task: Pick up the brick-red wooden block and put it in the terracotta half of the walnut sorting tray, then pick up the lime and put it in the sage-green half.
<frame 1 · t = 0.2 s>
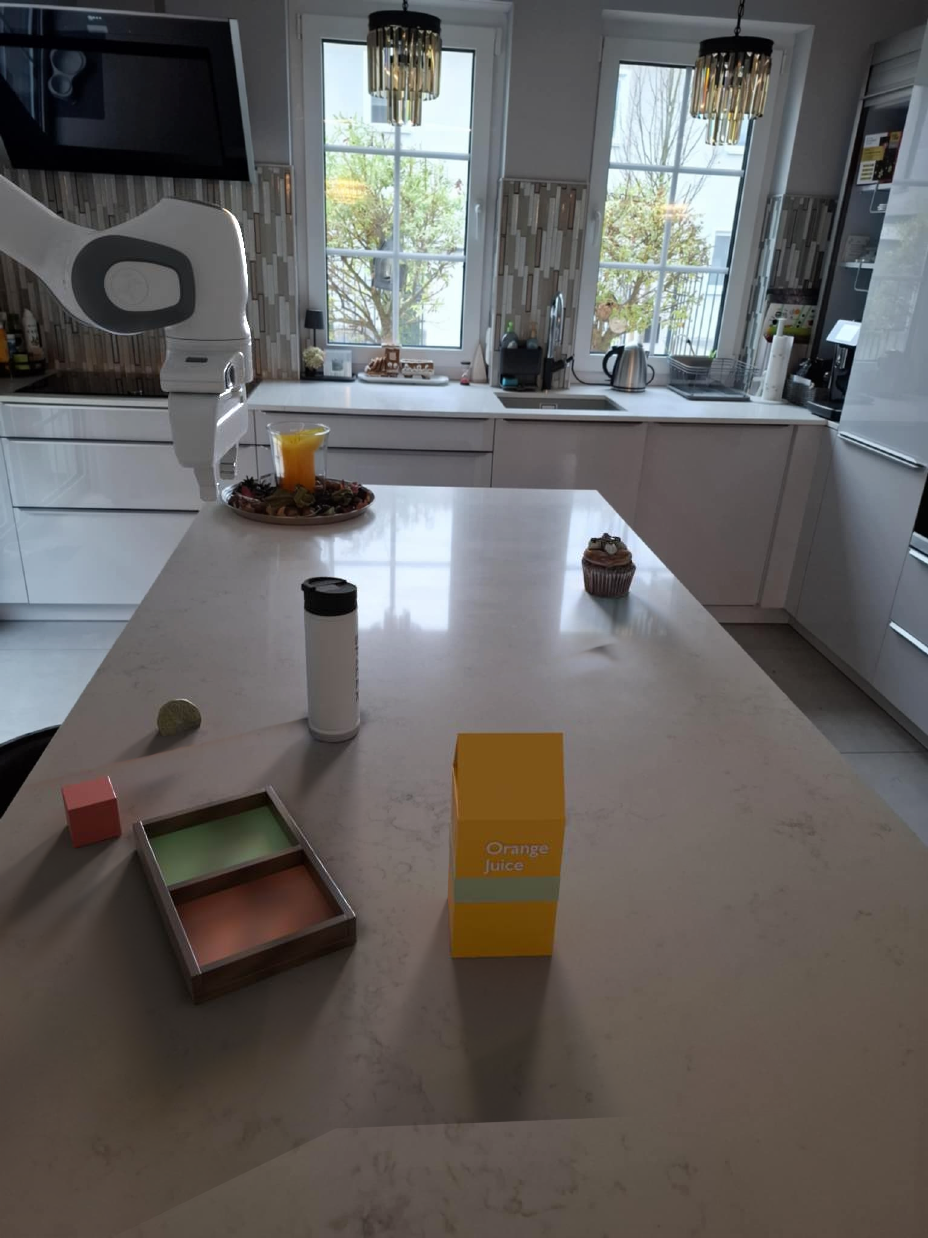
hand: (219, 488, 100), 29 cm above the kitchen island, tool pointing down, fingers open, 8 cm apart
cupcake: (606, 590, 156), on the kitchen island
red block: (94, 829, 89), on the kitchen island
travel mug: (333, 731, 108), on the kitchen island
orange juice: (497, 927, 78), on the kitchen island
sorting tray: (239, 892, 81), on the kitchen island
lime: (179, 738, 105), on the kitchen island
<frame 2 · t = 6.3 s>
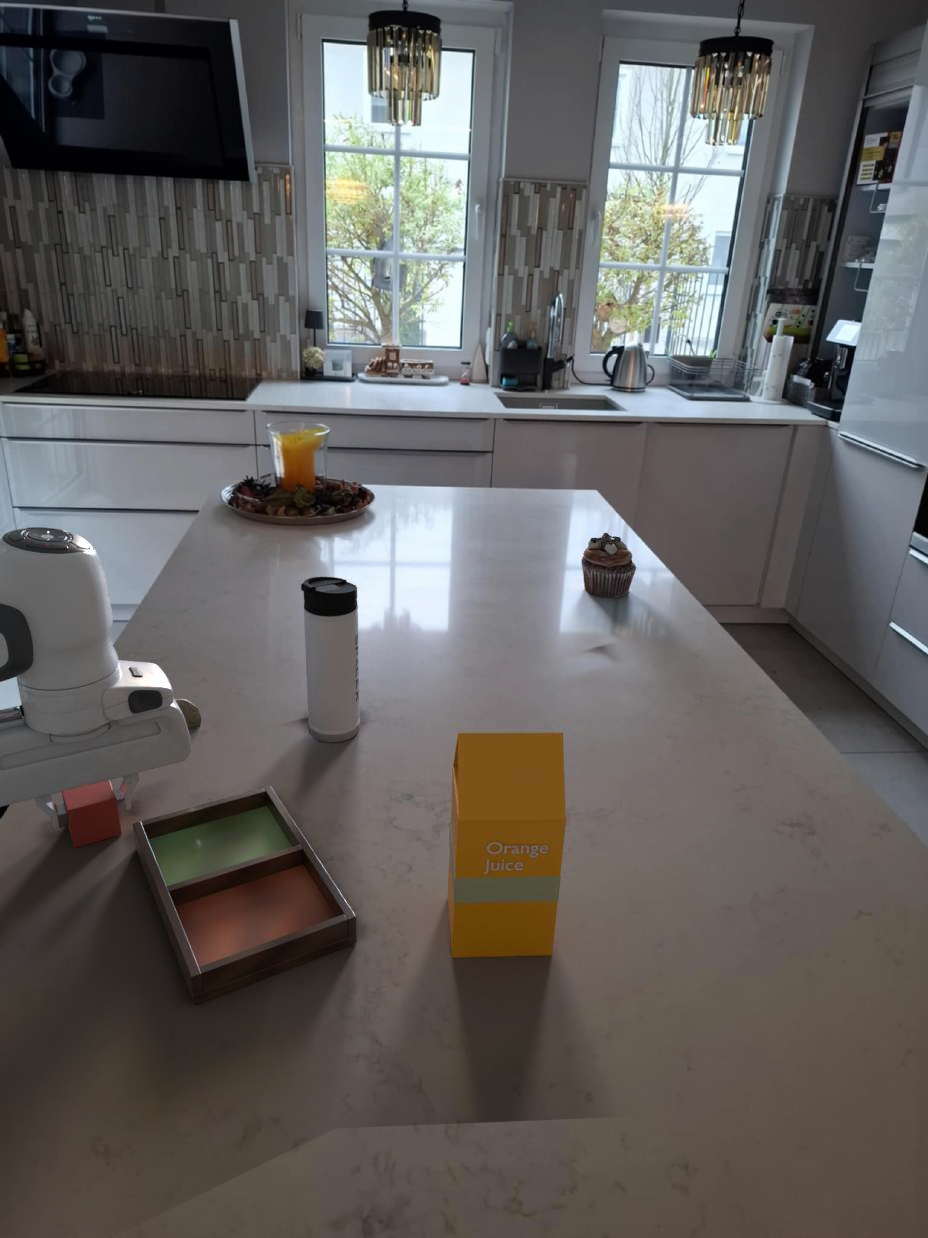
hand: (92, 816, 88), 2 cm above the kitchen island, tool pointing down, fingers closed on red block, 4 cm apart
red block: (94, 829, 89), on the kitchen island, touching gripper
everything else where it was.
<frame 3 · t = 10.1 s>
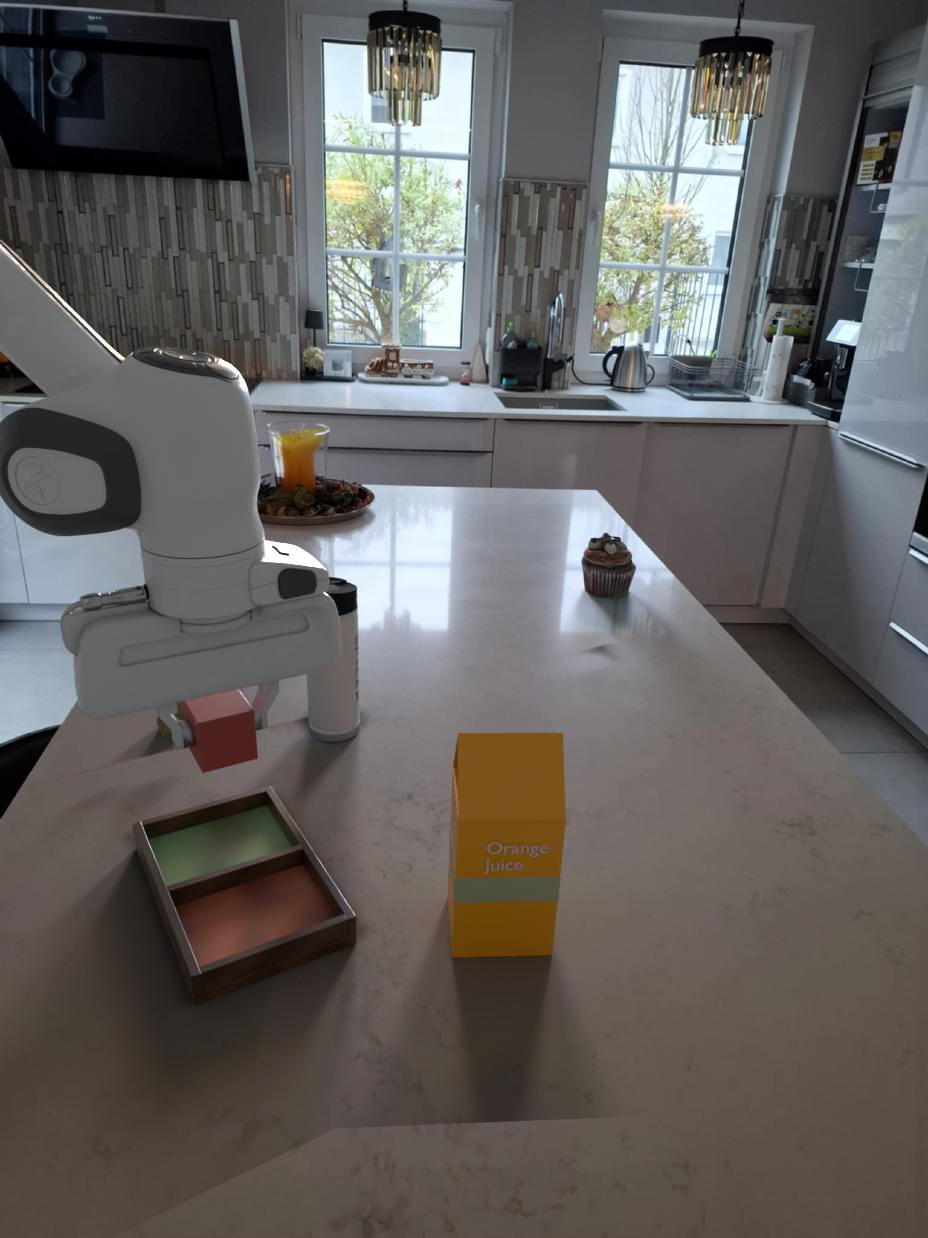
hand: (221, 735, 70), 19 cm above the kitchen island, tool pointing down, fingers closed on red block, 4 cm apart
red block: (222, 752, 71), point 17 cm above the kitchen island, touching gripper
everything else where it was.
when the fingers open (3 cm above the kitchen island, at t = 14.2 s): red block stays where it is, resting on sorting tray.
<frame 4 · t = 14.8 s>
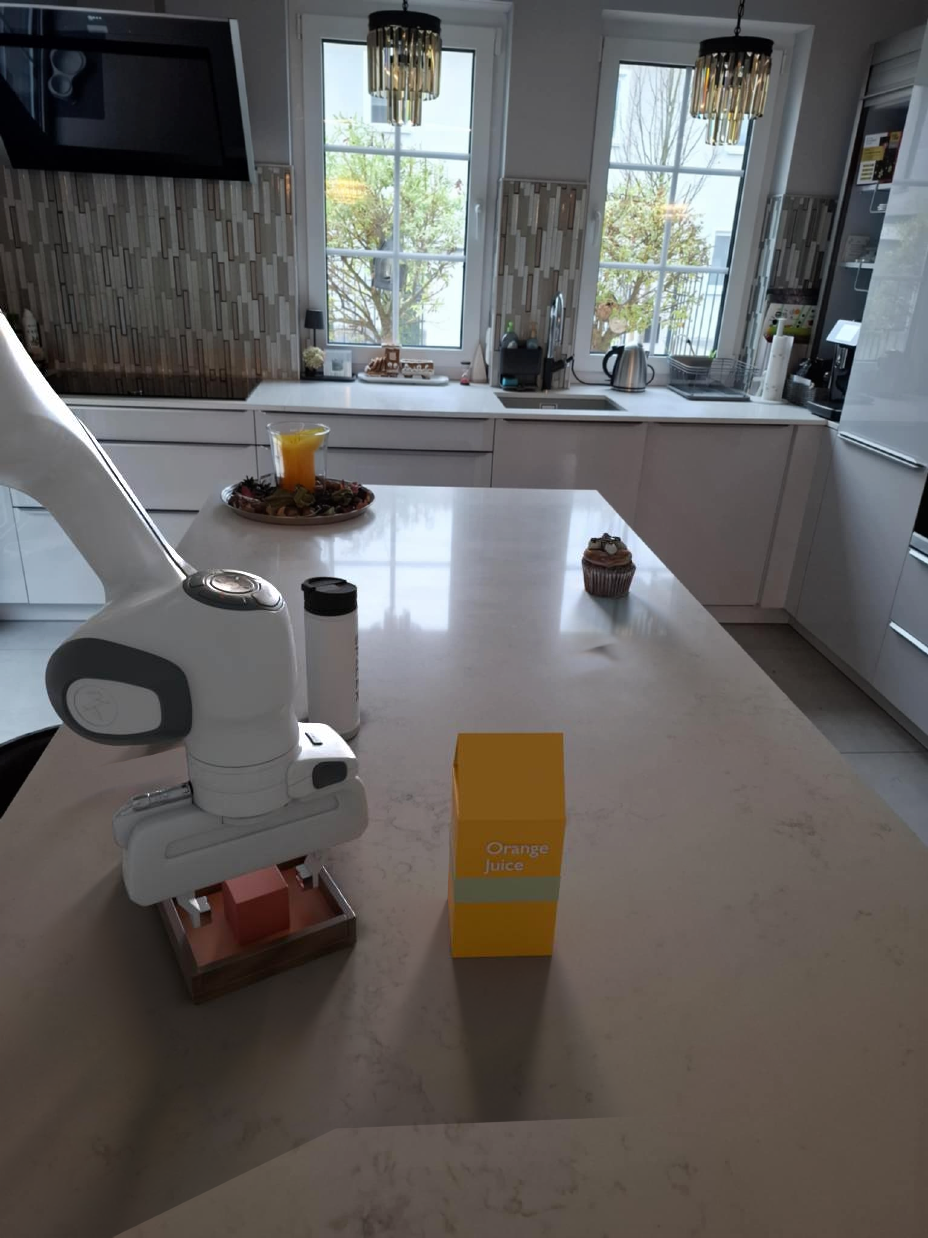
hand: (255, 903, 75), 3 cm above the kitchen island, tool pointing down, fingers open, 8 cm apart
red block: (257, 920, 76), point 1 cm above the kitchen island, touching sorting tray
everything else where it was.
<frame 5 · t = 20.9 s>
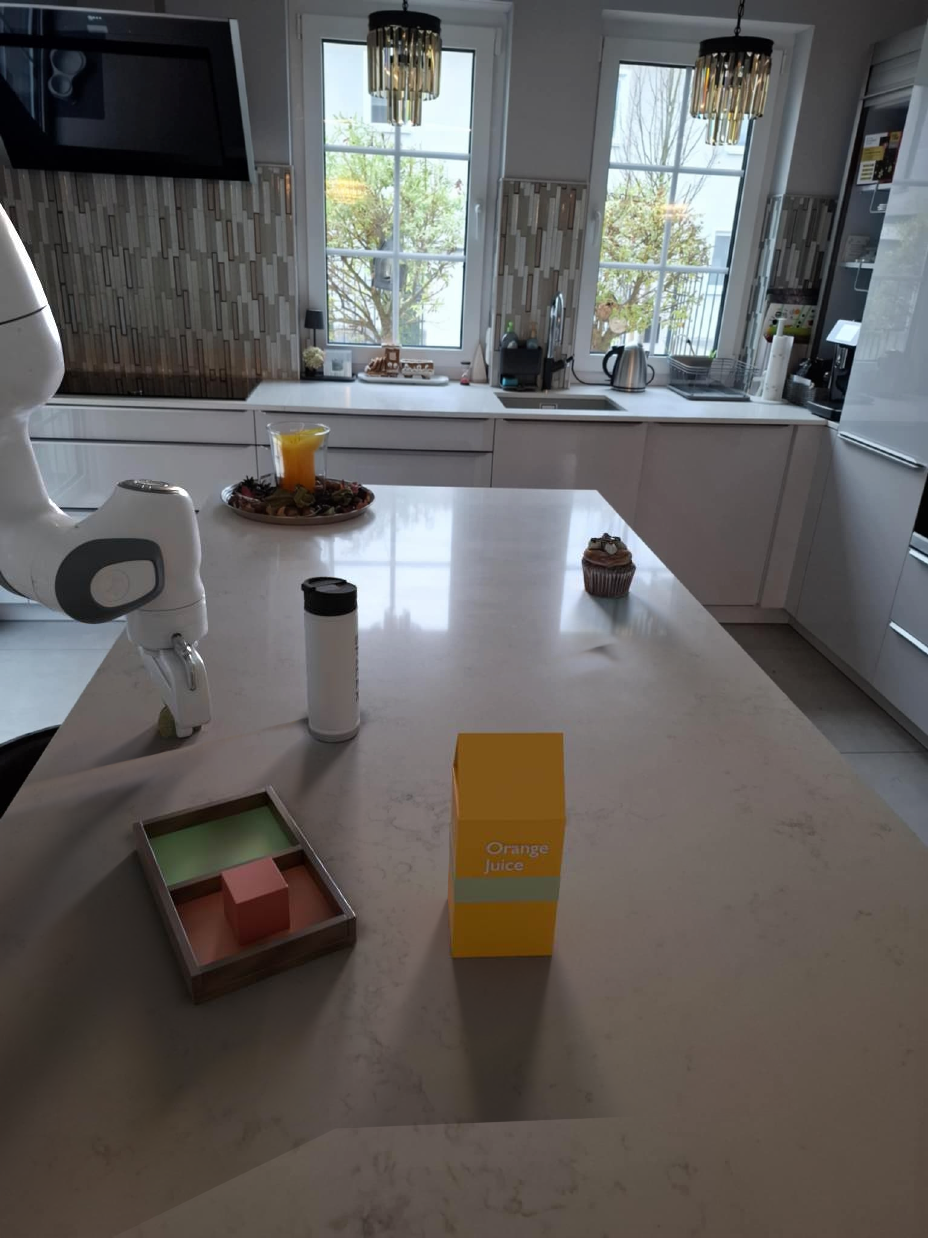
hand: (178, 724, 105), 2 cm above the kitchen island, tool pointing down, fingers closed on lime, 3 cm apart
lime: (180, 739, 105), on the kitchen island, touching gripper
everything else where it was.
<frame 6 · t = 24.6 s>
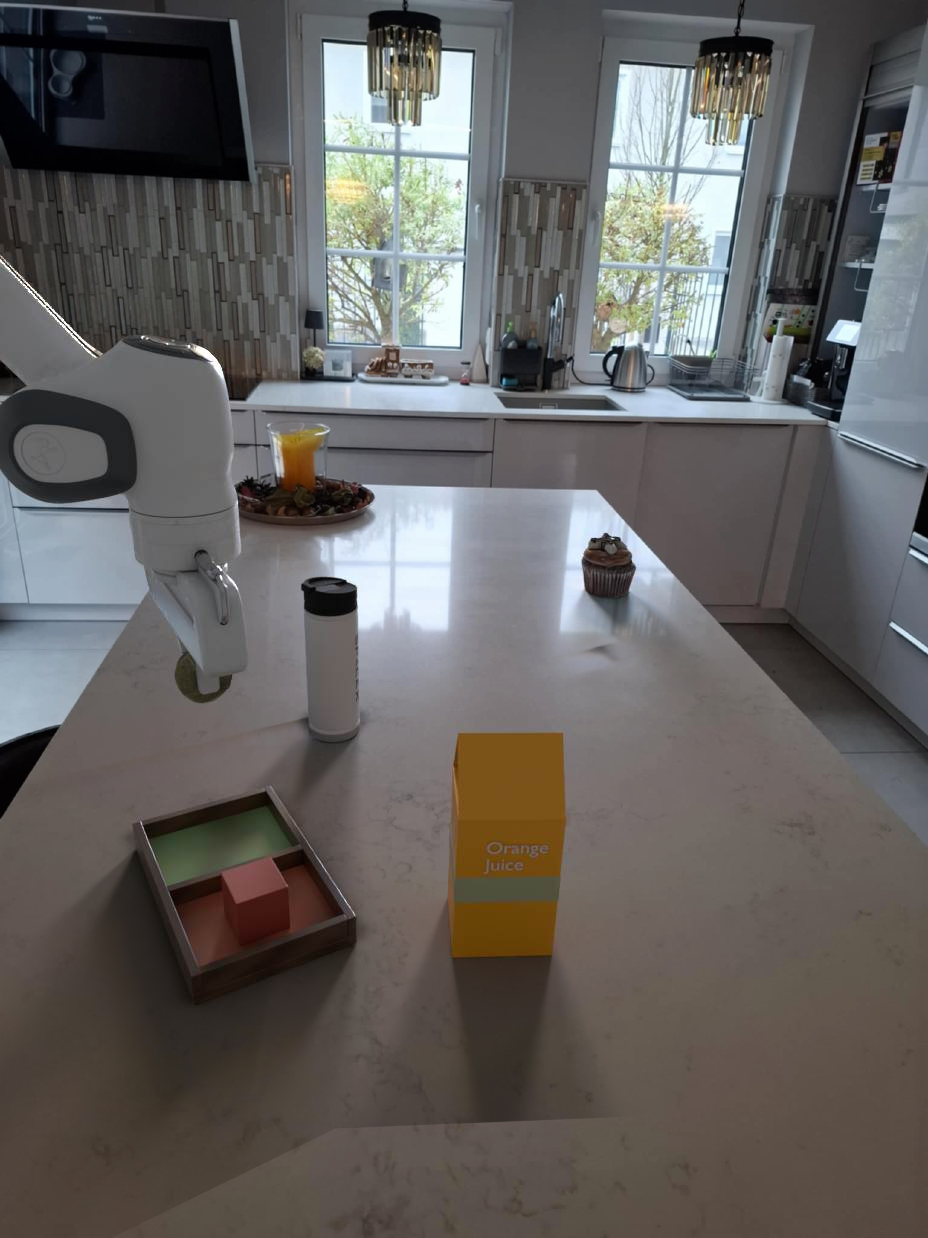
hand: (200, 679, 80), 18 cm above the kitchen island, tool pointing down, fingers closed on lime, 3 cm apart
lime: (204, 698, 80), point 17 cm above the kitchen island, touching gripper
everything else where it was.
when the fingers open (3 cm above the kitchen island, at t = 29.2 s): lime stays where it is, resting on sorting tray.
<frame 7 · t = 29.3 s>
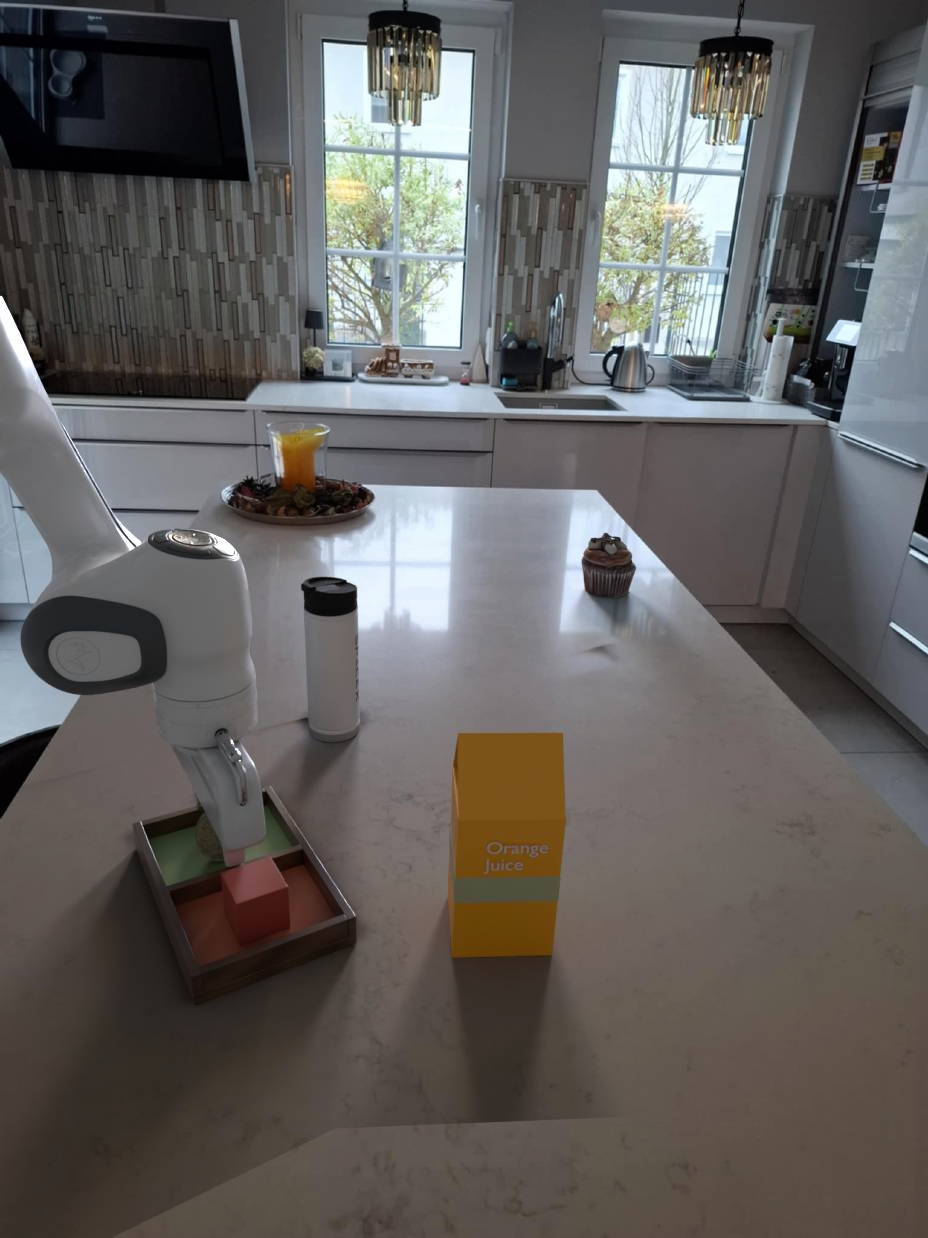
hand: (218, 832, 84), 3 cm above the kitchen island, tool pointing down, fingers open, 8 cm apart
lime: (222, 853, 84), point 1 cm above the kitchen island, touching sorting tray
everything else where it was.
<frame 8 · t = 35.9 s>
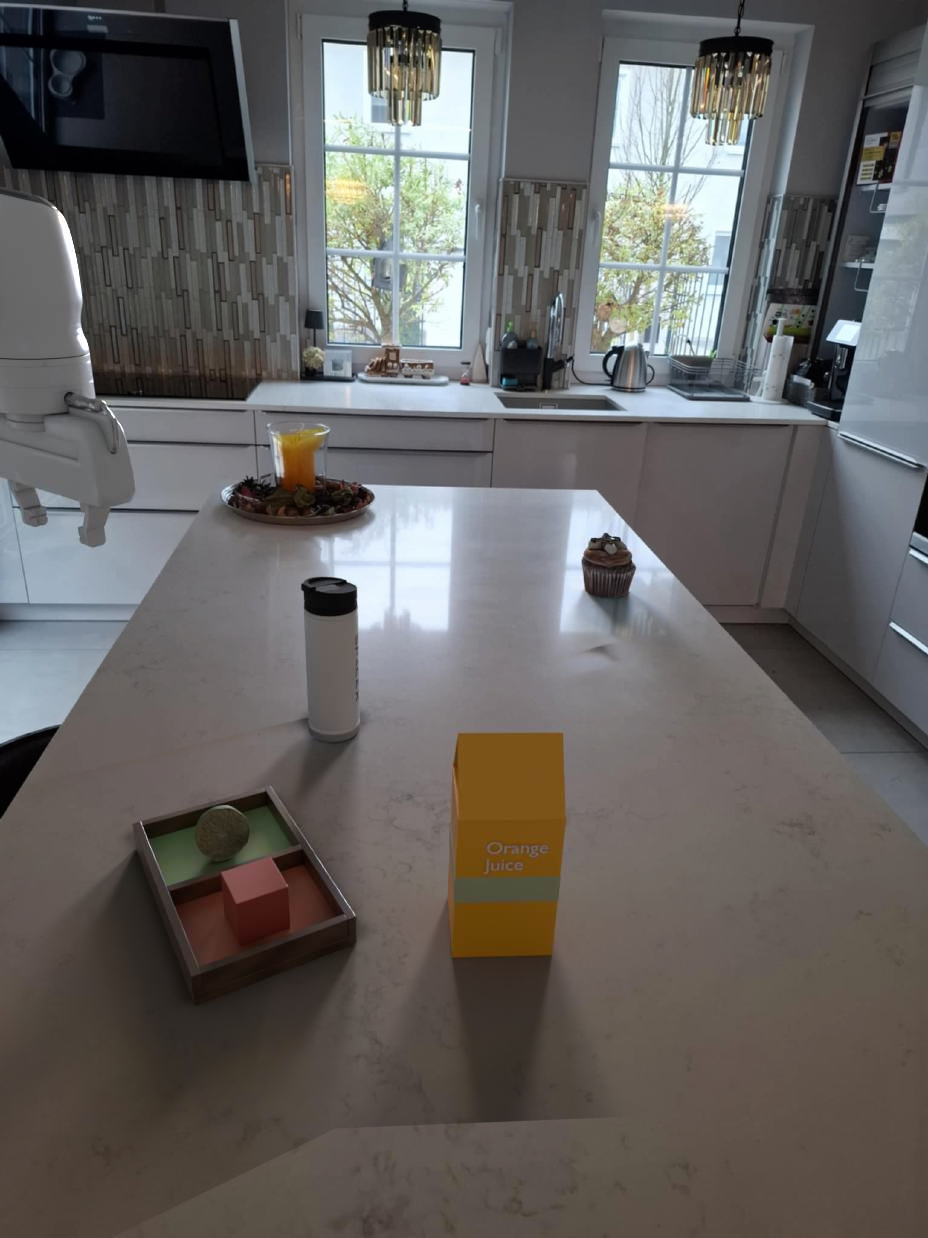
hand: (63, 534, 83), 29 cm above the kitchen island, tool pointing down, fingers open, 8 cm apart
nothing on the kitchen island moved.
at the end: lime inside the target area on the sorting tray (0.6 cm from its centre), point 1.0 cm above the sorting tray's base; red block inside the target area on the sorting tray (0.0 cm from its centre), point 1.2 cm above the sorting tray's base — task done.
